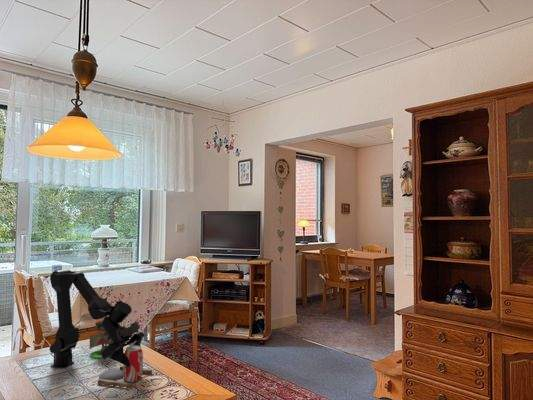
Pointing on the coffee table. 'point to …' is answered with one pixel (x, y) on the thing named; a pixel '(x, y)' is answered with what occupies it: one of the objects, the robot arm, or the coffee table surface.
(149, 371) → the rail
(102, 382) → the rail
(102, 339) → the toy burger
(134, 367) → the soda can
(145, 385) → the coffee table surface
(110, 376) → the coaster
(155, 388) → the coffee table surface
